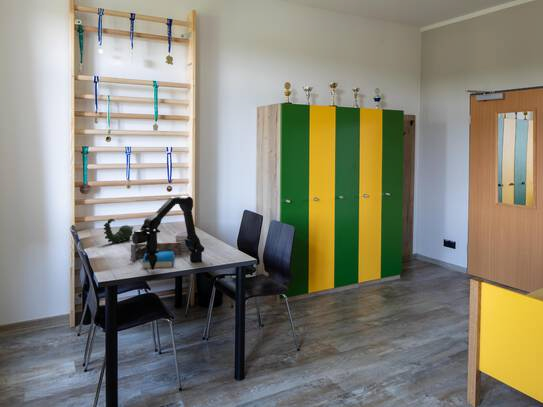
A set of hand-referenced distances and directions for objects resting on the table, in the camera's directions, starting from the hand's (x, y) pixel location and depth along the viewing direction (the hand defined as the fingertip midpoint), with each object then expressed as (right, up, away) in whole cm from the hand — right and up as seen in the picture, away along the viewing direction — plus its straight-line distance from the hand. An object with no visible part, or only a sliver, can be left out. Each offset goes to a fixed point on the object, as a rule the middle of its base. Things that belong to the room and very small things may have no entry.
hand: (152, 269), depth 250 cm
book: (-2, +1, +21) cm, 21 cm away
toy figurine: (-43, +8, +78) cm, 89 cm away
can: (+8, +5, +48) cm, 49 cm away
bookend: (-18, +2, +27) cm, 33 cm away
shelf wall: (-7, +3, +36) cm, 37 cm away
